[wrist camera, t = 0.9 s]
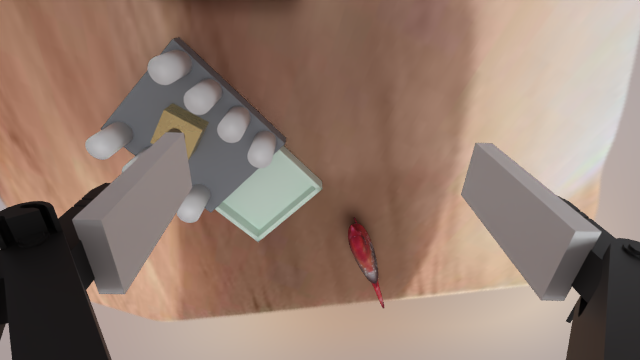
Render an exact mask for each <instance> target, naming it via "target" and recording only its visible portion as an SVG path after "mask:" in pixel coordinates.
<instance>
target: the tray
mask: <svg viewBox="0 0 640 360" xmlns="http://www.w3.org/2000/svg"><path fill="white" fill-rule="evenodd" d="M320 190H322V181H321V180H320V179H319V178H318V177H317V176H316V175H315V174H314V173H312V172H311V171H310V170H309V169H308V168H307V167H306V166H305V165H304V164H303V163H302V162H301V161H300V160H298V159H297V158H296V157H295V156H294V155H293V154H292V153H291V152H290V151H289V150H288V149H287V148H286V147H285V146H282V147H281V148H280V149H279V150H278V151H277V152H276V153H275V154H274V155H273V158H272V162H271V163H270V165H269V166H267V167H265V168H259V169H257V170H256V171H255V172H254V173H253V174H252V175H251V176H250V177H249V178H248V179H247V180H246V181H244V182H243V183H242V184H241V185H240V186H239V187H238V188H237V189H236V190H235V191H234V192H233V193H232V194H230V195H229V196H228V197H227V198H226V199H225V200H224V201H223V202H222V203H221V204H220V205H219V206H218V207H216V208H215V210H217V211H218V212H219V213H221V214H222V215H223V216H225V217H226V218H227V219H228V220H230V221H231V222H232V223H234V224H235V225H236V226H238V227H239V228H240V229H242V230H243V231H244V232H246V233H247V234H248V235H249V236H251V237H252V238H253V239H255V240H256V241H257V242H259V241H260V240H261V239H262V238H264V237H265V236H266V235H267V234H268V233H270V232H271V231H272V230H273V229H274V228H276V227H277V226H278V225H279V224H281V223H282V222H283V221H284V220H285V219H287V218H288V217H289V216H290V215H291V214H293V213H294V212H295V211H296V210H297V209H299V208H300V207H301V206H302V205H304V204H305V203H306V202H307V201H308V200H310V199H311V198H312V197H313V196H314V195H316V194H317V193H318V192H319V191H320Z"/></svg>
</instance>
